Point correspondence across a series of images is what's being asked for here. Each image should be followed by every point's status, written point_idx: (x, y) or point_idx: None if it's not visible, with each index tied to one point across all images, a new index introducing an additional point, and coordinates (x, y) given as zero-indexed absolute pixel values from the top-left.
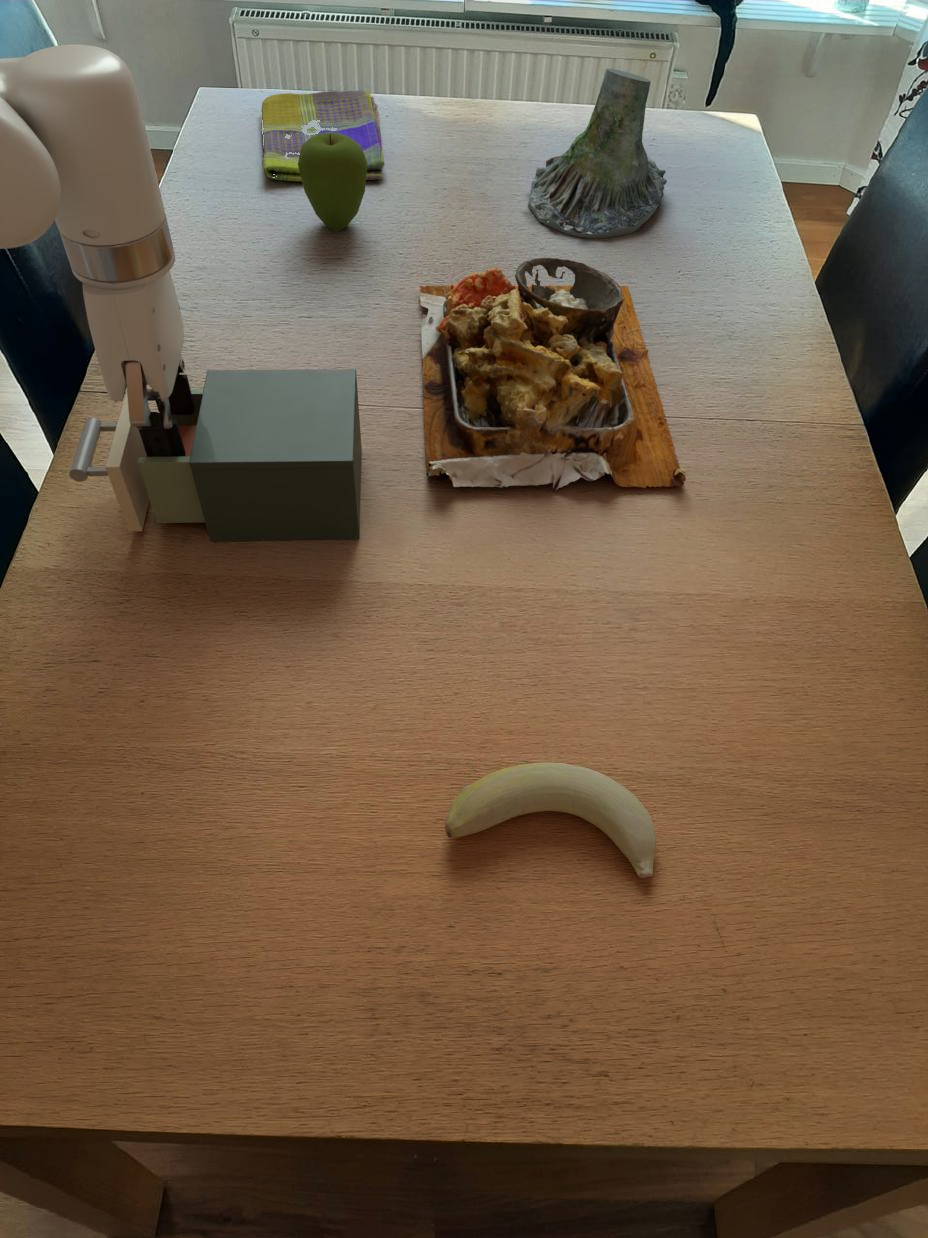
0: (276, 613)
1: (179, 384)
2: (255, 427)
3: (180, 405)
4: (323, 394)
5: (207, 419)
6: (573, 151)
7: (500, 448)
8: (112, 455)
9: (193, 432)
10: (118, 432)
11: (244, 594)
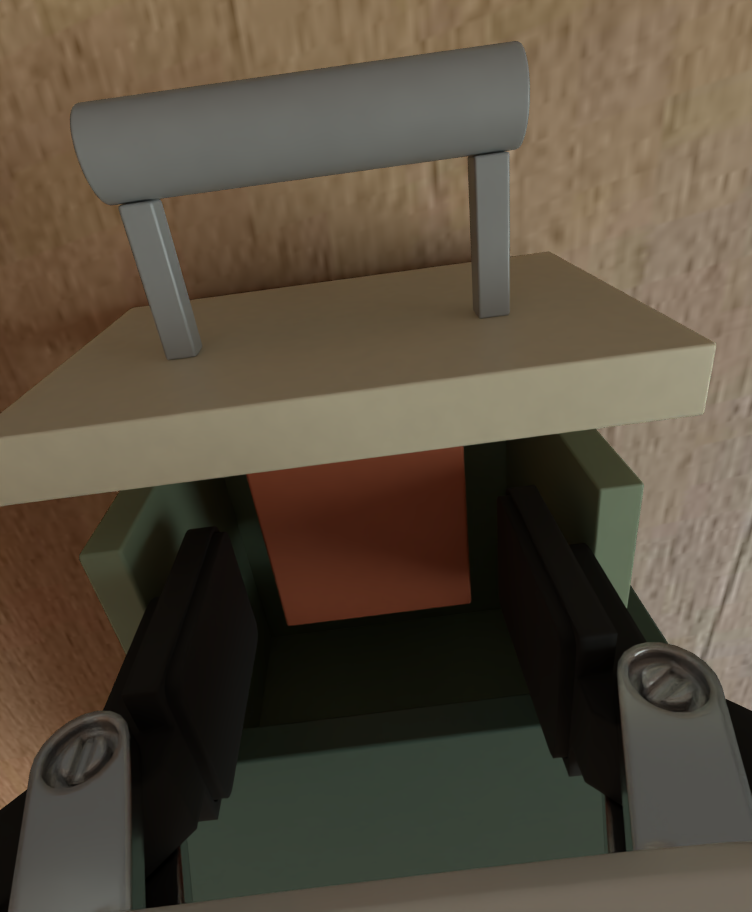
0: (31, 666)
1: (547, 721)
2: (338, 880)
3: (511, 603)
4: None
5: (359, 774)
6: None
7: None
8: (65, 450)
9: (427, 584)
10: (254, 425)
11: (55, 607)
